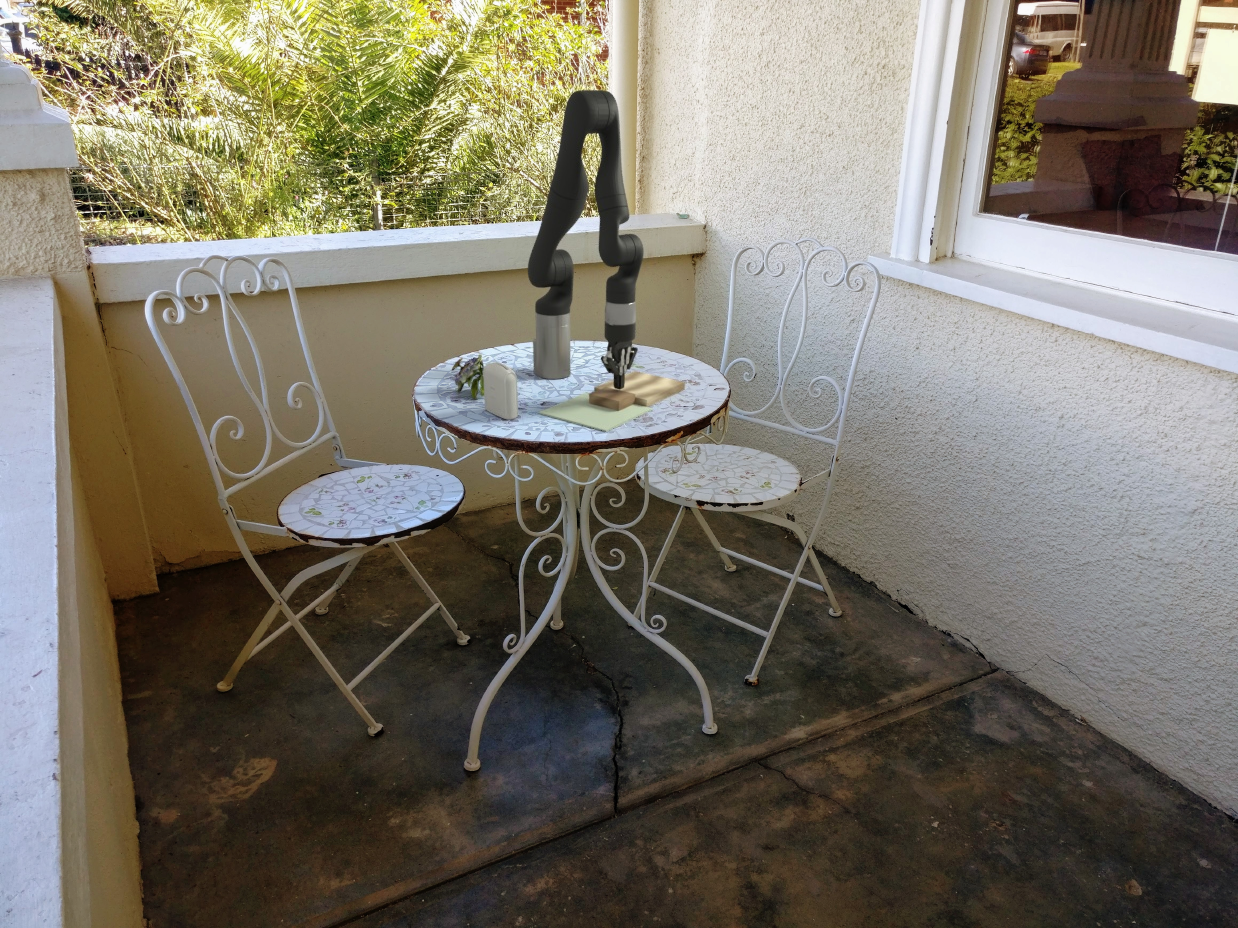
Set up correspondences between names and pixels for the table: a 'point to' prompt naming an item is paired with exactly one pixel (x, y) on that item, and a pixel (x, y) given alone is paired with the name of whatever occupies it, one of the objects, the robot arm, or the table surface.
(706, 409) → the table surface
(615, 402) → the walnut slab
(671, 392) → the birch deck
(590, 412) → the sage mat
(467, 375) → the passion flower
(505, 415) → the photo printer
